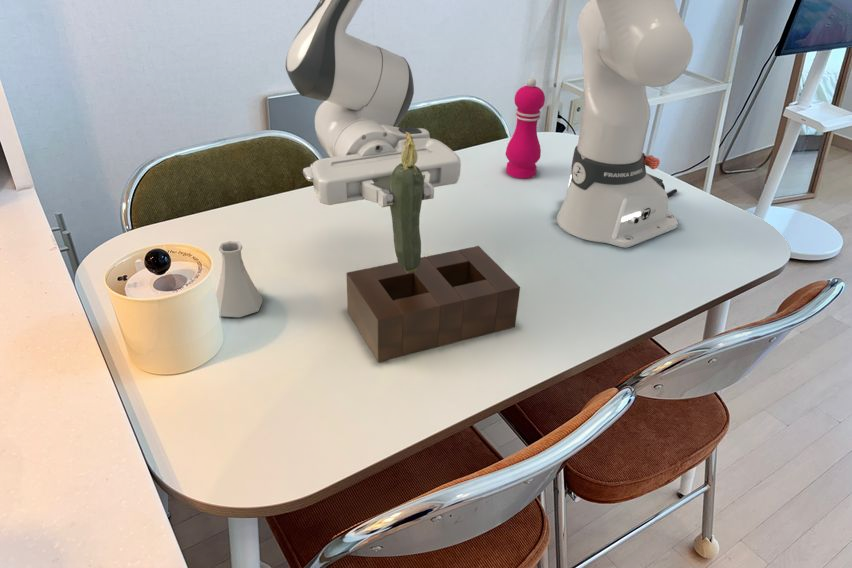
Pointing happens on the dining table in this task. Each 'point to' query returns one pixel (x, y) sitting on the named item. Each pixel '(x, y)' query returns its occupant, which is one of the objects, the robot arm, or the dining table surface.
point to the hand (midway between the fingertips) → (409, 197)
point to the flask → (236, 284)
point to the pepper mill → (525, 132)
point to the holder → (431, 302)
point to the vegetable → (407, 207)
